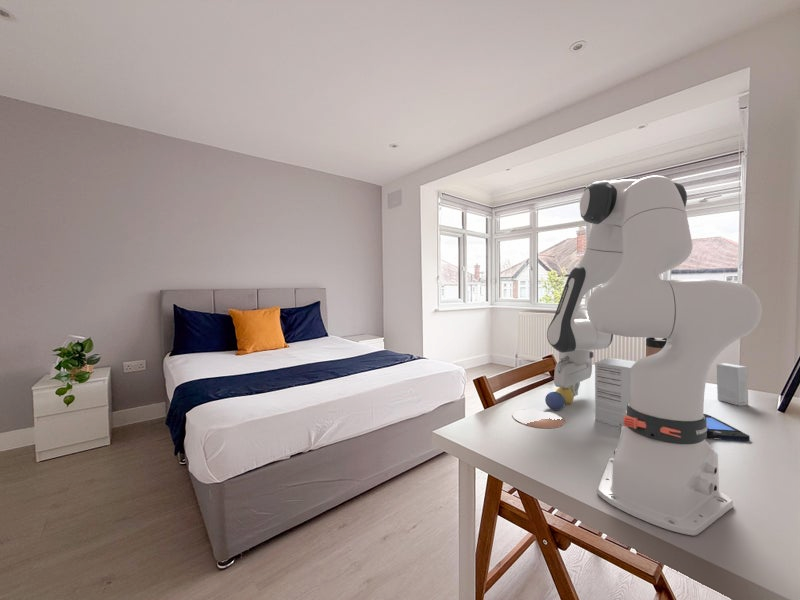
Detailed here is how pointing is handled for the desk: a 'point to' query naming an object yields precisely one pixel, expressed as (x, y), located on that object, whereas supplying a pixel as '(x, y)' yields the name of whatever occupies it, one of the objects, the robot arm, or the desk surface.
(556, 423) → the mark
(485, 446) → the desk surface
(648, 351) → the travel mug
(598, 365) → the supplement box
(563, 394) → the ball
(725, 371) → the skincare box
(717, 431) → the handheld game console
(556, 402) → the ball
